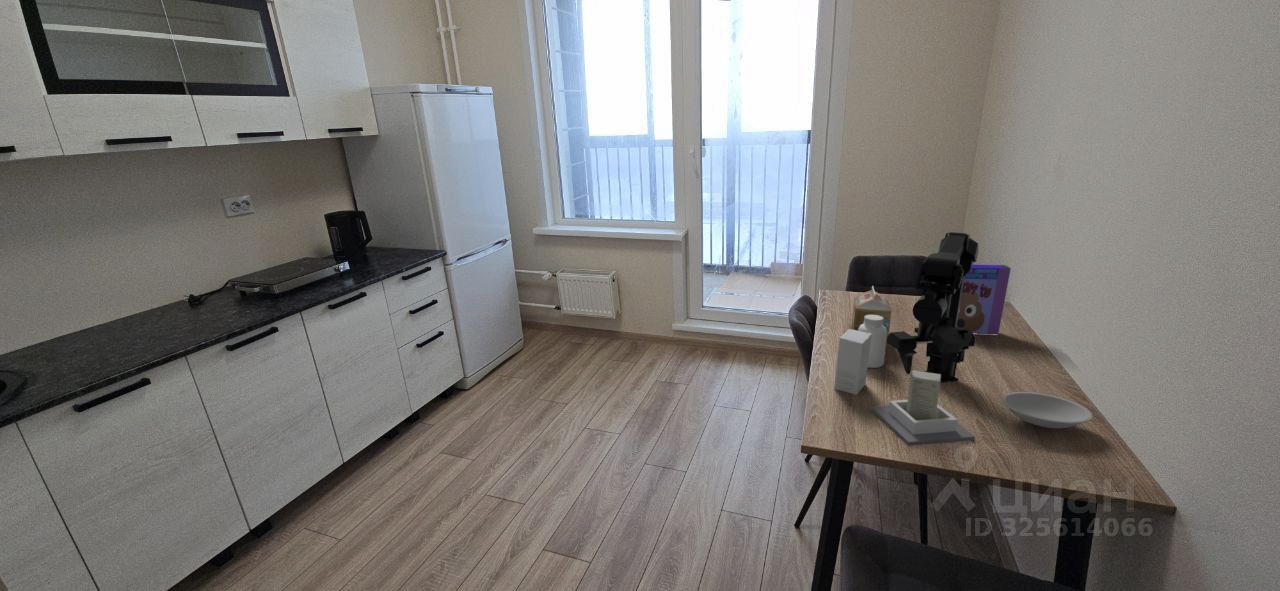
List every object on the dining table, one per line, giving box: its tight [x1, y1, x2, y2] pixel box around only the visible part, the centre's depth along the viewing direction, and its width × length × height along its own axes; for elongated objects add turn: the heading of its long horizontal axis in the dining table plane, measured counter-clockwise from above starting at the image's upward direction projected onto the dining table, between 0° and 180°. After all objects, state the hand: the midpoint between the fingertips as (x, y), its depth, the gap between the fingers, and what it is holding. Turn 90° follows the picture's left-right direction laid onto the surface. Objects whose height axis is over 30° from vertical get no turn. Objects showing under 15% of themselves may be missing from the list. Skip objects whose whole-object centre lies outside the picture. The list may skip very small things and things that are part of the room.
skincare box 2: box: [907, 369, 941, 420], centre depth 124 cm, size 6×4×12 cm
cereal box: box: [957, 264, 1011, 335], centre depth 179 cm, size 17×5×24 cm, turn 80°
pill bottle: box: [858, 315, 887, 369], centre depth 158 cm, size 8×8×15 cm
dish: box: [1000, 391, 1094, 429], centre depth 124 cm, size 18×14×5 cm
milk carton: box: [850, 285, 892, 353], centre depth 171 cm, size 11×11×19 cm
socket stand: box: [871, 399, 976, 447], centre depth 126 cm, size 16×16×4 cm
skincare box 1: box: [833, 328, 872, 396], centre depth 144 cm, size 8×7×16 cm
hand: (925, 371), depth 126 cm, fingers open, 9 cm apart
